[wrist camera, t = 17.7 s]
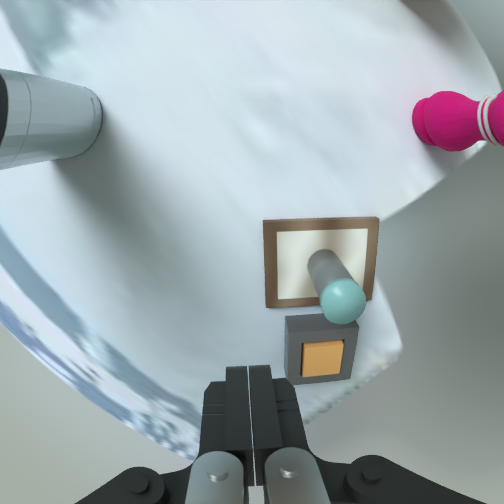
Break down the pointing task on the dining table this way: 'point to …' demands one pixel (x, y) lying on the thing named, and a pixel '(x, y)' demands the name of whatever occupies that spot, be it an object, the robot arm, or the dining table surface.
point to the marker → (335, 288)
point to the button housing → (317, 331)
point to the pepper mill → (459, 120)
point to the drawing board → (308, 242)
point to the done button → (321, 358)
